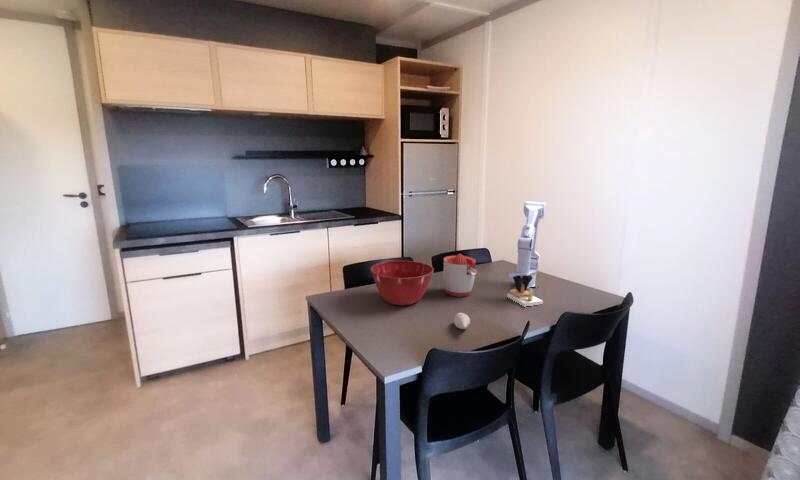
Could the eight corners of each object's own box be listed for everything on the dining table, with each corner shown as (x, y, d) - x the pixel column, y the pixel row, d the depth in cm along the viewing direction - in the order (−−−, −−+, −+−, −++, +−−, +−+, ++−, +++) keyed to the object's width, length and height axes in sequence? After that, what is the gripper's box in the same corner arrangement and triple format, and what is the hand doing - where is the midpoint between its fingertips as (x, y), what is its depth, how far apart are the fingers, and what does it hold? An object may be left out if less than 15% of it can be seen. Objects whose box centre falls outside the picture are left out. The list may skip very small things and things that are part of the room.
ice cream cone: (463, 338, 141) (458, 327, 156) (476, 328, 141) (470, 318, 156) (453, 325, 141) (449, 315, 156) (466, 315, 141) (461, 306, 156)
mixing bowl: (357, 299, 177) (357, 267, 174) (400, 285, 198) (400, 256, 195) (403, 318, 159) (404, 282, 155) (444, 300, 179) (446, 268, 176)
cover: (510, 292, 184) (511, 282, 183) (522, 290, 187) (523, 281, 186) (519, 297, 178) (520, 287, 177) (531, 295, 180) (532, 286, 179)
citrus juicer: (462, 302, 177) (465, 260, 173) (435, 292, 190) (436, 252, 185) (483, 295, 187) (486, 255, 183) (456, 285, 200) (458, 248, 195)
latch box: (507, 297, 184) (507, 293, 184) (524, 295, 188) (524, 291, 187) (524, 307, 172) (524, 303, 172) (542, 305, 176) (543, 300, 175)
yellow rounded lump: (520, 301, 174) (521, 291, 173) (519, 296, 179) (520, 287, 178) (533, 302, 173) (534, 292, 172) (531, 298, 178) (532, 288, 177)
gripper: (515, 266, 173) (513, 295, 176) (542, 263, 178) (539, 291, 181) (506, 262, 179) (504, 289, 182) (532, 259, 184) (529, 286, 187)
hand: (521, 290), depth 182 cm, fingers closed on cover, 3 cm apart
